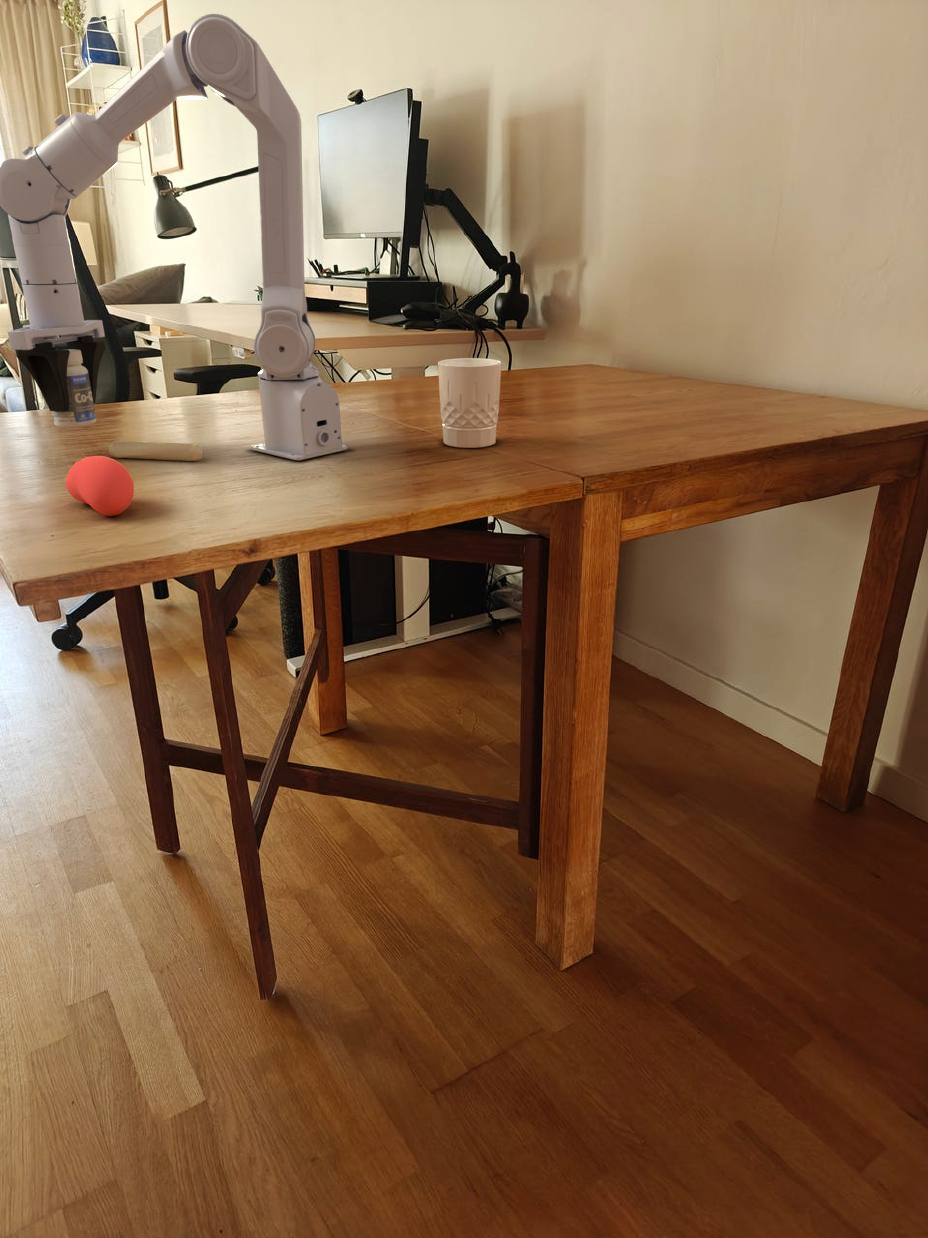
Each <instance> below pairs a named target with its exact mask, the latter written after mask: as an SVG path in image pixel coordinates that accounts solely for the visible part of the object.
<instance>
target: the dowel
mask: <svg viewBox="0 0 928 1238" xmlns="http://www.w3.org/2000/svg"><path fill="white" fill-rule="evenodd" d="M108 453H109V454H110V455H111V456H112V457H113V458H117V459H141V460H158V461H159V460H163V461H185V462H197V461H200V460H201V459H202V458H203V456H204V450H203V448H202V446H201V445H199V444H197V443H184V442H181V443H180V442H161V441H160V442H159V441H137V440H136V441H135V440H134V441H133V440H113V441H111V442H110V443H109V445H108Z"/></svg>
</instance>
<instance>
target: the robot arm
mask: <svg viewBox="0 0 928 1238" xmlns="http://www.w3.org/2000/svg"><path fill="white" fill-rule="evenodd" d="M207 87H209V89H210V90H211V91H212V92H213V93H214V94H215V95H216V96H217V97H219V98H220V99H222V100H224V101H225V102H227V103H228V104H230V105H231V106H233V107H235V108H236V109H237V110H238V111H239V112H240V113H241V114H242V115H243V117H244V118H246V120H247V121H248V122H249V123H250V124H251V125H252V126H253V127H254V129H255V130H256V139H257V142H256V143H257V163H258V165H257V166H258V168H257V169H258V190H259V193H258V194H259V212H260V213H259V216H260V217H259V218H260V242H261V243H260V245H261V266H262V267H261V269H262V270H261V271H262V297H261V305H260V306H261V307H260V311H261V312H260V314H261V315H260V316H261V317H260V319H261V321H260V326H259V329H258V330H257V332H256V335H255V337H254V342H253V350H254V356H255V358H256V361H257V362H258V364H259V365H260V366H261V368H262V370H260V371H258V372H257V377H258V378H257V379H258V388H259V397H260V399H259V400H260V408H261V417H262V418H261V419H262V427H263V428H262V429H263V437H264V438H263V439H264V442H262V443H257V444H252V445H250V450H252V451H256V452H260V453H264V454H267V455H268V454H269V455H273V456H277V457H280V458H285V459H288V460H293V461H303V460H307V459H311V458H316V457H321V456H324V455H330V454H334V453H337V452H338V453H339V452H343V451H347V450H348V446H347V445H346V444H343V439H342V426H341V425H342V424H341V410H340V409H341V408H340V399H339V396H338V393H337V391H336V390H335V388H334V387H333V386H332V385H331V384H329V383H328V382H325V381H323V380H322V378H321V376H320V369H319V368H318V367H317V366H316V365H314V363H313V362H312V361H310V360H311V358H312V357H313V355H314V353H315V351H316V350H315V349H316V345H317V344H316V335H315V332H314V330H313V328H312V327H311V324H310V322H309V318H308V303H307V297H306V289H305V287H306V285H305V241H304V240H305V239H304V199H303V198H304V196H303V195H304V194H303V193H304V189H303V188H304V186H303V143H302V142H303V141H302V139H303V138H302V137H303V136H302V119H301V113H300V111H299V109H298V107H297V105H296V104H295V103H294V101H293V99H292V97H291V96H290V94H289V92H288V91H287V90H286V88H285V86H284V84H283V83H282V81H281V79H280V78H279V76H278V74H277V73H276V71H275V70H274V67H273V66H272V64H271V63H270V60H268V58H267V56H266V55H265V53H264V51H263V49H262V48H261V46H260V44H259V43H258V42H257V41H256V39H254V37H252V36H251V35H250V34H249V33H248V32H247V31H245V30H244V29H243V27H241V26H240V25H239V24H238V23H237V22H236V21H234V20H233V19H231V18H230V17H228V16H226V15H224V14H220V13H207V14H204V15H202V16H200V17H198V18H197V20H195V21H194V22H193V23H192V24H191V26H190V28H189V30H188V32H187V30H185V29H183V30H182V31H180V32H178V33H177V34H175V35H174V36H173V37H171V38H170V39H169V41H168V42H166V44H165V45H164V46H163V47H162V48H161V49H160V50H159V51H158V52H157V53H156V54H155V55H154V56H153V57H152V58H151V59H150V60H149V61H148V62H146V64H145V65H144V66H142V68H141V69H140V70H139V71H138V72H136V73H135V75H134V76H133V77H132V78H130V79H129V81H127V82H126V83H125V84H124V85H123V86H122V87H121V88H120V89H119V90H118V91H117V92H116V93H115V94H114V95H113V96H112V97H111V98H110V99H109V100H107V102H105V104H104V105H103V106H101V108H99V109H98V111H96V112H95V113H94V114H88V113H85V112H81V111H75V112H73V113H72V114H71V115H70V116H69V115H67V114H66V113H61V114H60V115H58V116H57V117H56V118H55V119H54V123H55V124H56V126H57V127H56V128H55V129H54V130H53V131H51V132H50V133H49V134H48V135H47V136H46V137H44V138H43V139H42V140H41V141H40V142H39V143H37V144H36V145H35V146H34V147H33V146H31V145H27V146H26V147H24V148H23V150H22V155H24V159H23V158H16V157H15V158H8V159H5V160H3V161H2V163H1V166H0V207H1V209H2V210H3V211H4V212H5V213H6V214H7V218H8V223H9V228H10V233H11V237H12V239H11V240H12V244H13V250H14V255H15V259H16V264H17V268H18V273H19V278H20V283H21V288H22V292H23V297H24V303H25V307H26V312H27V313H26V314H27V317H28V322H29V324H24V325H22V327H21V328H17V329H12V330H7V337H8V341H9V345H10V349H11V350H12V351H13V350H14V352H15V356H16V358H17V360H18V361H19V362H21V364H22V365H23V366H24V367H25V368H26V370H27V371H28V373H29V374H30V375H31V377H32V378H33V380H34V382H35V384H36V385H37V387H38V389H39V391H40V393H41V395H42V397H43V399H44V402H45V403H46V405H47V408H48V410H49V411H50V412H52V411H59V412H66V411H69V395H68V387H67V365H68V358H69V354H70V351H69V350H68V349H74V350H80V351H81V354H82V359H83V360H82V361H83V363H81V365H82V366H83V367H85V368H86V369H87V371H88V374H89V380H90V386H91V392H92V398H93V403H94V404H96V401H97V389H98V387H97V386H98V376H99V369H100V366H101V363H102V358H103V356H104V354H105V351H106V341H105V340H103V339H102V340H101V339H100V340H99V339H94V338H105V337H106V335H105V334H106V333H105V329H104V324H103V320H102V319H86V320H85V318H84V312H83V307H82V301H81V296H80V290H79V286H78V279H77V274H76V269H75V268H76V267H75V263H74V258H73V251H72V247H71V241H70V238H69V233H68V228H67V223H66V222H67V221H66V217H67V215H68V214H69V211H70V207H71V201H72V200H76V199H77V198H79V196H80V195H82V194H83V193H84V192H85V191H86V190H88V189H89V188H90V187H91V186H92V185H93V184H95V183H96V182H97V181H98V180H99V179H101V178H102V177H103V176H104V175H105V174H107V173H108V172H109V171H110V170H111V169H113V168H114V167H115V166H116V165H117V164H118V161H119V148H120V147H119V145H120V143H122V142H123V141H124V140H125V139H127V138H128V137H129V136H130V135H132V134H133V133H135V132H136V131H138V130H139V129H140V128H142V126H144V125H145V124H146V123H148V122H149V121H150V120H151V119H153V118H155V116H157V115H158V114H160V113H161V112H162V111H163V110H164V109H166V108H168V106H170V105H172V103H174V102H175V101H177V100H208V99H209V97H208V94H207V91H206V89H205V88H207ZM58 336H59V337H58ZM60 336H63V337H60Z"/></svg>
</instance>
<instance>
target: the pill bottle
mask: <svg viewBox="0 0 928 1238" xmlns="http://www.w3.org/2000/svg"><path fill="white" fill-rule="evenodd" d="M68 350H69V351H70V354H69V358H68V365H67V387H68V395H69V411H66V412H59V411H51V415H52V420H53V424H54V425H55V426H56V427H60V428H79V427H85V426H90V425H94V424H95V423H97V413H96V409H95V403H93V398H92V392H91V386H90V380H89V374H88V371H87V369H86V368H85V367H83V366H82V365H81V363H83V361H82V360H83V359H82V354H81V351H80V350H74V349H68Z"/></svg>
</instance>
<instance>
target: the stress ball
mask: <svg viewBox="0 0 928 1238" xmlns="http://www.w3.org/2000/svg"><path fill="white" fill-rule="evenodd" d="M65 487H66V490H67V492H68V493H69V495H70V496H71V497H72V498H73V499H75V500H76V501H78V502H81V503H83V504H87V505H89V506H90V507H91V508H92V509H93V510H94V511H96V512H97V513H99V514H100V515H103V516H107V517H112V516H113V517H114V516H115V517H116V516H118V515H120V514H123V512H125V511H126V510H127V508H129V506H130V505H131V502H132V500H133V499H134V498H133V497H134V494H135V485H134V480H133V479H132V476H131V474H130V472H129V471H128V469H127V468H126V467H125V466H124V465H123V464H122V463H120V462H119V461H118V460H116V459H114V458H111V457H110V456H109V457H108V456H105V455H92V456H91V455H90V456H85V457H84V458H82V459H79V460H78V461H77V462H75V463H74V464H73V465H72V466H71V468H70V469H69V470H68V471H67V475H66V477H65Z"/></svg>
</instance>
